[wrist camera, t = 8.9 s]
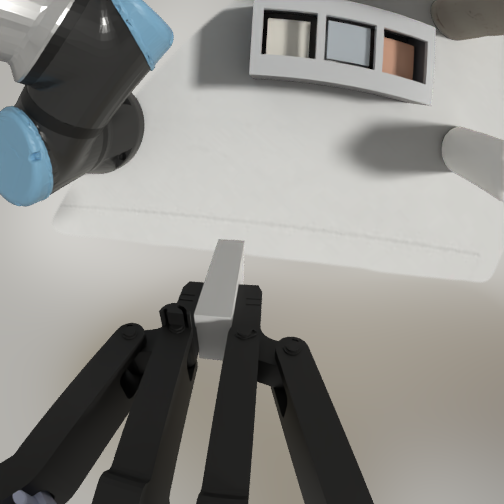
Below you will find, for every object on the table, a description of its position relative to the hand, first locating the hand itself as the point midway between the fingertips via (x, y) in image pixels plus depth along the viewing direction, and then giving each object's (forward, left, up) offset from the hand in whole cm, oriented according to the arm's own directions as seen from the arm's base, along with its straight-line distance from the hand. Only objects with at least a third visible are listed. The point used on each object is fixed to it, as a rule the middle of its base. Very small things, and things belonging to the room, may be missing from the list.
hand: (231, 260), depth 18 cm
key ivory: (+3, +18, -29) cm, 34 cm away
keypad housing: (+11, +18, -29) cm, 36 cm away
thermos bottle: (+30, +30, -30) cm, 52 cm away
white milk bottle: (+34, +7, -30) cm, 46 cm away
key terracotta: (+18, +18, -29) cm, 39 cm away
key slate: (+11, +18, -26) cm, 34 cm away
